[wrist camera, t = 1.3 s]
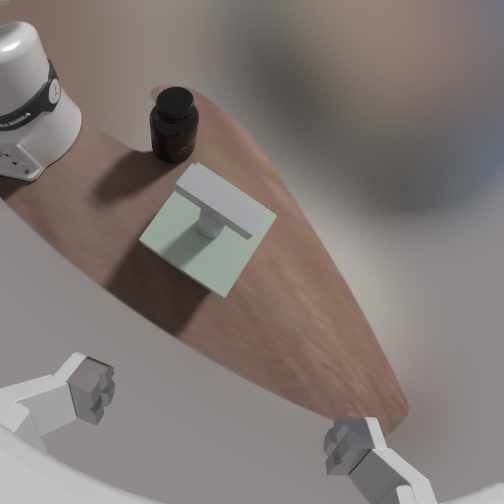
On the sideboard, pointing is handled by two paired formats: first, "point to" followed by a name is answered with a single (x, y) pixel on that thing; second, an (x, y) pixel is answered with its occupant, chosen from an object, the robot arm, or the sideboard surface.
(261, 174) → the sideboard surface
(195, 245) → the t-shaped pedestal stand
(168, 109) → the supplement bottle
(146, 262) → the sideboard surface
